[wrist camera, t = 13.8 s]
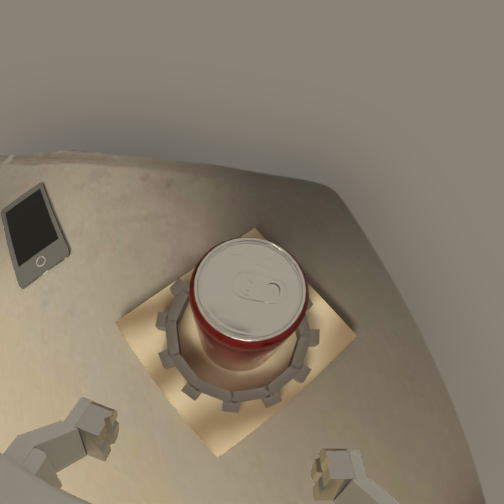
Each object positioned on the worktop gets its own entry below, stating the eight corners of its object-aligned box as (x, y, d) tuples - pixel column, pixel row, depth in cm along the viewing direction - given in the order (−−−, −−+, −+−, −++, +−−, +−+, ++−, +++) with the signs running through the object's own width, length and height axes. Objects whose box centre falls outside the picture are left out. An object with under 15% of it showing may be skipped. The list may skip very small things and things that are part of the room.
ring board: (118, 325, 28) (110, 317, 26) (253, 233, 35) (256, 220, 33) (217, 455, 23) (217, 460, 21) (352, 338, 30) (362, 331, 28)
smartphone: (2, 213, 33) (-1, 210, 33) (43, 184, 37) (41, 181, 36) (22, 291, 29) (19, 289, 28) (72, 256, 32) (70, 253, 31)
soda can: (189, 358, 27) (169, 324, 16) (213, 289, 30) (211, 219, 20) (266, 381, 26) (297, 362, 16) (284, 310, 30) (320, 250, 19)
